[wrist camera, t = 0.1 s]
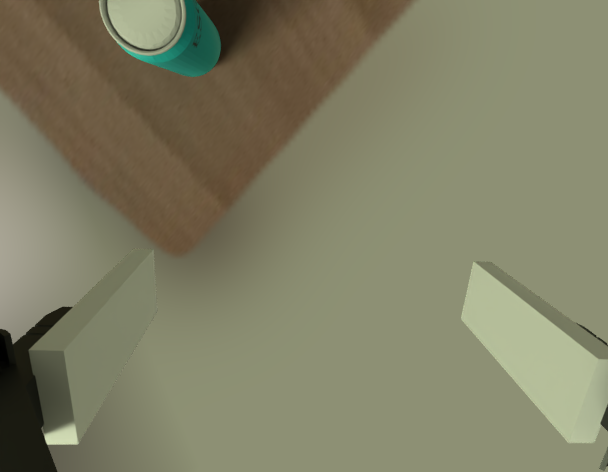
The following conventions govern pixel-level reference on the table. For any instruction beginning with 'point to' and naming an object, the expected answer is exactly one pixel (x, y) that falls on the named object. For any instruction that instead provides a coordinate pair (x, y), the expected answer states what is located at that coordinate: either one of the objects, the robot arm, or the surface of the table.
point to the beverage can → (164, 33)
